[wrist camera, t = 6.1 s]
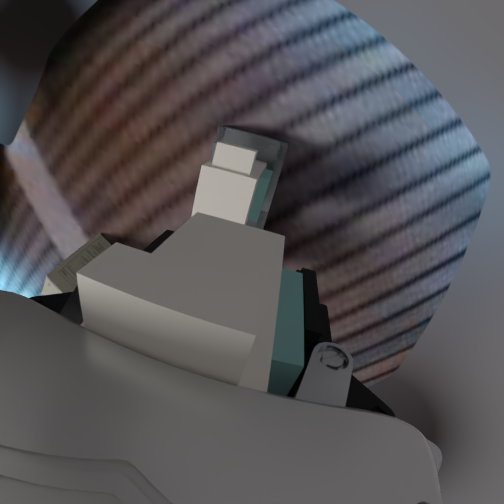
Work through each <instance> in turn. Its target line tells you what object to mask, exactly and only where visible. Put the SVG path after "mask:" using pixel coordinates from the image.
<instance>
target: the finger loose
mask: <svg viewBox="0 0 504 504" xmlns="http://www.w3.org/2000/svg"><path fill="white" fill-rule="evenodd" d="M284 242H285V236H283V235H280V234H276V233H272V232H269V231H265V230H262V229H258V228H255V227H251V226H248V225H244V224H240V223H237V222H233V221H229V220H226V219H222V218H218V217H215V216H211V215H207V214H203V213H200V212H197V213H196V214H195V215H193V216H192V217H191V218H190V219H189V220H188V221H187V222H185V223H184V224H183V225H182V226H181V227H180V228H179V229H178V230H176V231H175V232H174V233H173V234H172V235H171V236H170V237H169V238H168V239H166V240H165V241H164V242H163V243H162V244H161V245H160V246H159V247H158V248H157V249H156V250H155V251H153V252H152V253H148V252H145V251H142V250H139V249H136V248H132V247H129V246H126V245H123V244H120V243H117V242H116V243H115V244H113V245H112V246H110V247H109V248H108V249H106V250H105V251H104V252H102V253H101V254H100V255H98V256H97V257H96V258H94V259H93V260H92V261H90V262H89V263H88V264H87V265H85V266H84V267H83V268H81V269H80V270H79V271H78V272H76V274H77V283H78V290H79V297H80V304H81V310H82V315H83V322H82V324H81V326H83V327H85V328H86V329H88V330H90V331H92V332H94V333H96V334H98V335H100V336H102V337H105V338H107V339H109V340H111V341H113V342H116V343H118V344H120V345H122V346H125V347H127V348H129V349H132V350H134V351H136V352H139V353H141V354H144V355H146V356H149V357H151V358H154V359H157V360H159V361H162V362H164V363H167V364H170V365H173V366H176V367H178V368H181V369H184V370H187V371H190V372H193V373H196V374H199V375H203V376H206V377H209V378H212V379H216V380H219V381H223V382H226V383H230V384H233V385H237V386H238V385H240V386H244V387H248V388H252V389H256V390H260V391H264V392H269V393H273V394H278V395H282V396H287V394H288V393H289V391H290V389H291V388H292V386H293V384H294V383H295V381H296V379H297V378H298V376H299V374H300V373H301V371H302V369H303V367H304V306H303V274H302V273H299V272H295V271H292V270H288V269H285V268H282V263H283V252H284Z"/></svg>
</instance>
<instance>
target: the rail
mask: <svg viewBox="0 0 504 504" xmlns="http://www.w3.org/2000/svg"><path fill="white" fill-rule="evenodd" d="M220 141H223V142H227V143H231V144H235V145H239V146H243V147H247V148H251V149H254V150H258V152H257V156H256V160H260V161H263V162H267V166H266V169H268V170H272V171H273V173H272V176H271V180H270V183H269V186H268V190H267V193H266V196H265V200H264V203H263V207H262V209H261V212H260V215H259V218H258V221H257V223H256V222H253V221H250V220H247V222H246V225H248V226H251V227H255V228H258V229H262V230H263V228H264V225H265V221H266V218H267V215H268V212H269V208H270V205H271V202H272V199H273V195H274V192H275V189H276V186H277V182H278V179H279V176H280V172H281V169H282V166H283V163H284V159H285V156H286V153H287V149H288V146H289V142H286V141H282V140H279V139H276V138H272V137H269V136H265V135H261V134H258V133H254V132H250V131H246V130H242V129H238V128H234V127H230V126H218V129H217V133H216V137H215V142H214V146H213V150H212V154H211V158H210V161H211V160H213V157H214V153H215V149H216V145H217V142H220Z"/></svg>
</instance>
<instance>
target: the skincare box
mask: <svg viewBox="0 0 504 504" xmlns="http://www.w3.org/2000/svg"><path fill="white" fill-rule="evenodd" d="M110 246H112V245H111V244H110V243H109V242H108V241H107V240H106V239H105V238H104V237H103V236H102V235H101V234H100V233H99V234H97V235H96V236H95V237H93V238H92V239H91V240H89V241H88V242H87V243H85V244H84V245H83V246H82V247H80V248H79V249H78V250H77V251H75V252H74V253H73V254H72V255H70V256H69V257H68V258H67V259H66V260H64V261H63V262H62V263H61V264H60V265H58V266H57V267H56V268H55V269H54V270H53V271H51V272H50V273H49V274H48V275H47V276H46V278H45V281H44V283H43V286H42V290H41V294H42V295H50V294H58V293H66V292H73V291H74V289H75V288H76V286H77V285H78V283H77V274H76V272H78V271H79V270H80V269H81V268H83V267H84V266H85V265H87V264H88V263H89V262H90V261H92V260H93V259H94V258H96V257H97V256H98V255H100V254H101V253H102V252H104V251H105V250H106V249H108V248H109V247H110Z"/></svg>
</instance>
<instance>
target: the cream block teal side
mask: <svg viewBox="0 0 504 504" xmlns="http://www.w3.org/2000/svg"><path fill="white" fill-rule="evenodd" d="M257 152H258V150H254V149H251V148H247V147H243V146H239V145H235V144H231V143H227V142H223V141H220V142H217V145H216V149H215V153H214V157H213V160H211V161H209V162H207V163H205V164H203V165H202V167H201V171H200V176H199V181H198V186H197V191H196V195H195V201H194V206H193V211H192V216H193V215H195V214H196V213H197V212H200V213H203V214H207V215H211V216H215V217H218V218H222V219H226V220H229V221H233V222H237V223H240V224H244V225H246V222H247V220H250V221H253V222H256V223H257V221H258V218H259V215H260V212H261V209H262V207H263V203H264V200H265V196H266V193H267V190H268V186H269V183H270V180H271V176H272V173H273V171H272V170H268V169H266V166H267V162H263V161H260V160H256V156H257Z"/></svg>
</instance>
